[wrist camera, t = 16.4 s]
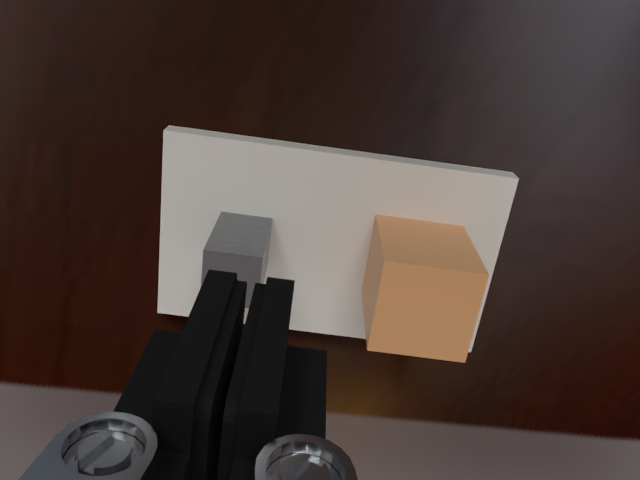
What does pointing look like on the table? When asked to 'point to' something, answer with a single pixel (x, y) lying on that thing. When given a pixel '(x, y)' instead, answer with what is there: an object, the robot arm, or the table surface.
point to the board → (312, 215)
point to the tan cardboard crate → (422, 289)
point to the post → (239, 248)
